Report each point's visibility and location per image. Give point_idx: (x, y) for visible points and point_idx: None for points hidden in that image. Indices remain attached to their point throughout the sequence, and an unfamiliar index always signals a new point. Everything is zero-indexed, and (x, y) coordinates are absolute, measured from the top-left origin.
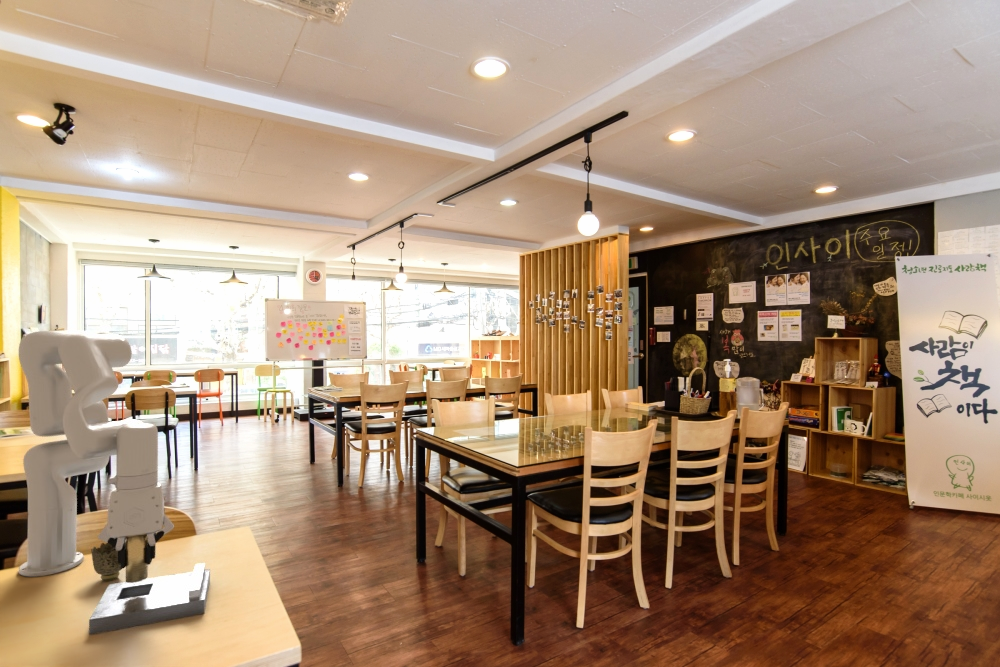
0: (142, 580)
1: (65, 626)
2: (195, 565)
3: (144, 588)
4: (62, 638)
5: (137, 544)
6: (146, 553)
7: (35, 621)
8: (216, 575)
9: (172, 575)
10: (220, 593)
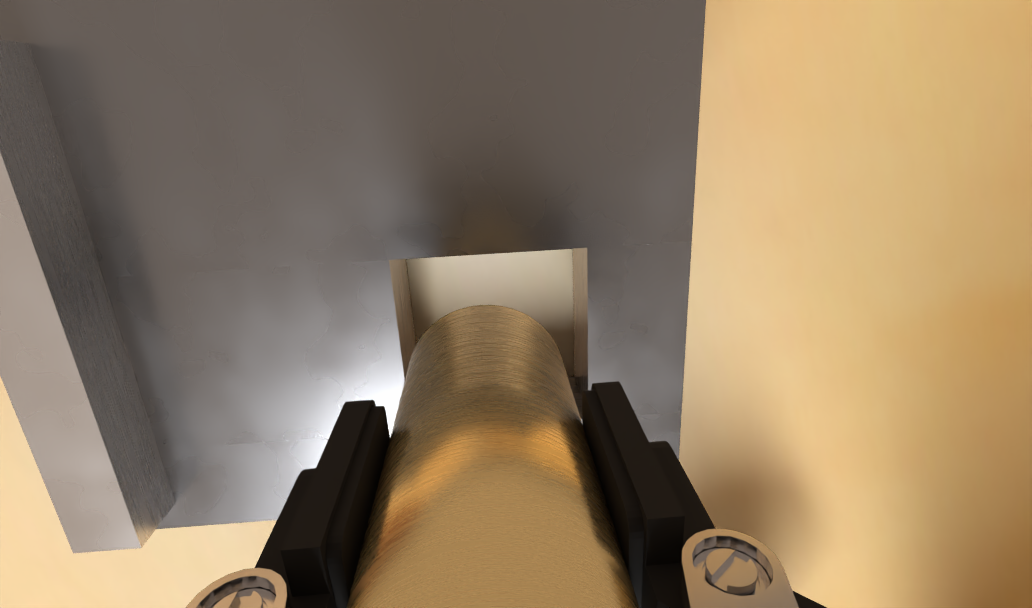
0: None
1: (812, 167)
2: (132, 531)
3: None
4: (808, 4)
5: (445, 571)
6: (353, 479)
7: (958, 287)
8: None
9: None
10: None
